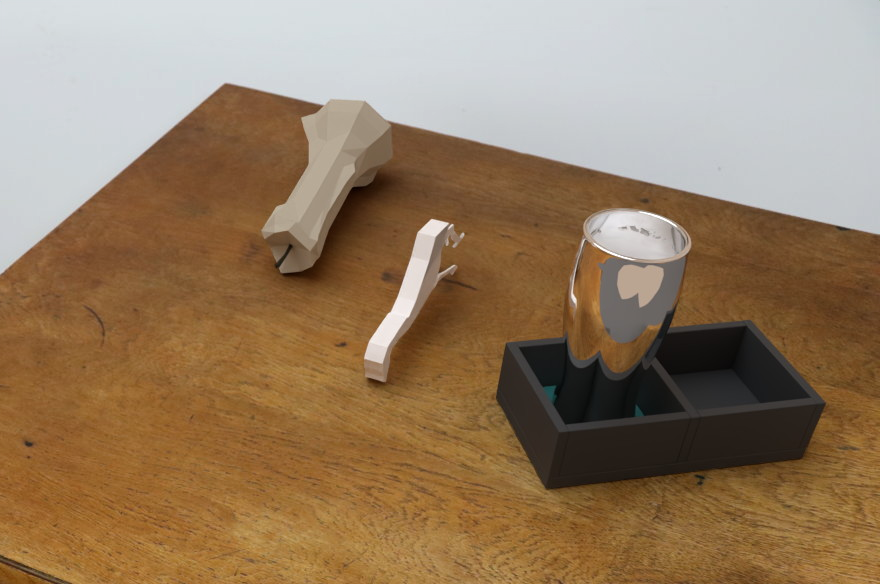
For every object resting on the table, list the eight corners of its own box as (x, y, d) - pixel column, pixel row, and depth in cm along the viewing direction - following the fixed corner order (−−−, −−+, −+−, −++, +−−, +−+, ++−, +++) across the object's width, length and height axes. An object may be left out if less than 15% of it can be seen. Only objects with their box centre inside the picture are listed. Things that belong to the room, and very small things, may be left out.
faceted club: (410, 163, 108) (339, 307, 90) (329, 169, 112) (244, 310, 93) (393, 77, 103) (314, 211, 85) (308, 87, 106) (215, 218, 88)
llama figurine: (419, 340, 97) (356, 382, 81) (448, 212, 94) (388, 229, 77) (439, 345, 96) (379, 388, 80) (469, 217, 93) (413, 235, 77)
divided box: (731, 373, 85) (750, 319, 82) (803, 458, 77) (826, 402, 74) (495, 397, 81) (505, 342, 78) (545, 489, 74) (559, 432, 70)
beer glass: (661, 431, 77) (719, 243, 68) (590, 466, 74) (641, 275, 64) (588, 378, 81) (633, 196, 72) (518, 410, 78) (556, 223, 69)
